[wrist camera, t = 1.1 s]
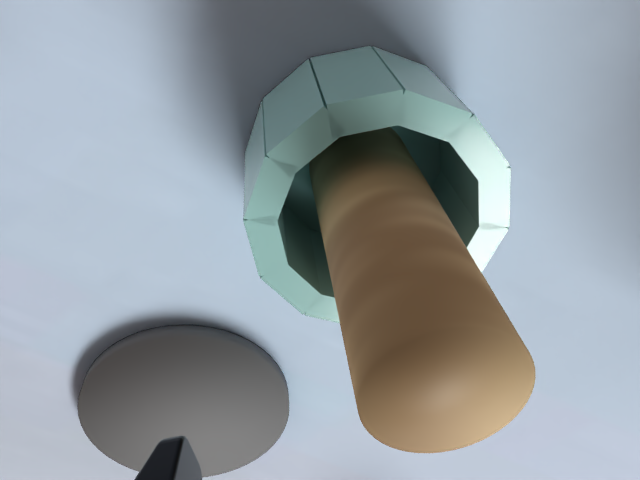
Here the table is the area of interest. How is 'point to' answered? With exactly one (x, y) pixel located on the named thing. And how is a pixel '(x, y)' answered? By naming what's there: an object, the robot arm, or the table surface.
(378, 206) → the dowel
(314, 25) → the table surface
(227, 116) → the table surface
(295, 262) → the cup
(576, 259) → the table surface
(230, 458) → the coaster
